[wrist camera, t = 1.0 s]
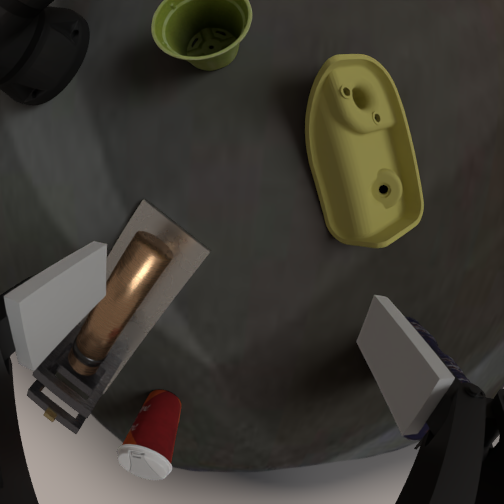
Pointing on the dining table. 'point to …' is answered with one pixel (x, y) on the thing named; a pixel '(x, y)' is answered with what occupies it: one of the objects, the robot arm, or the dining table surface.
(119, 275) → the copper tube
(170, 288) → the rail
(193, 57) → the plant pot
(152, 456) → the paper cup
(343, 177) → the plastic component
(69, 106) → the dining table surface
